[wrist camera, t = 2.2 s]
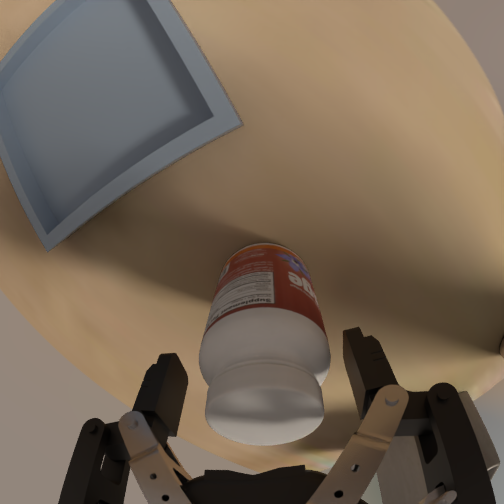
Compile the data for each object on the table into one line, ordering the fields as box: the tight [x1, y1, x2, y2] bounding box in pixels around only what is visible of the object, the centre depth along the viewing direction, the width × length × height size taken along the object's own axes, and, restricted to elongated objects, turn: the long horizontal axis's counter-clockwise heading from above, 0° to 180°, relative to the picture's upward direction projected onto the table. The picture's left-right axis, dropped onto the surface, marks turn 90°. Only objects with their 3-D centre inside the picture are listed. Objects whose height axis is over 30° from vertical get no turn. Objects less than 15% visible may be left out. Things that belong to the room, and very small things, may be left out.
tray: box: [0, 0, 244, 252], centre depth 13 cm, size 16×16×2 cm
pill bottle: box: [199, 243, 330, 446], centre depth 14 cm, size 6×6×11 cm
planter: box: [376, 391, 500, 504], centre depth 19 cm, size 16×8×19 cm, turn 129°
